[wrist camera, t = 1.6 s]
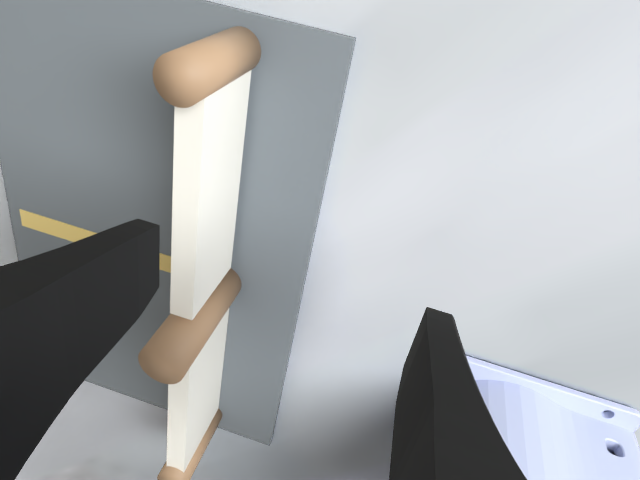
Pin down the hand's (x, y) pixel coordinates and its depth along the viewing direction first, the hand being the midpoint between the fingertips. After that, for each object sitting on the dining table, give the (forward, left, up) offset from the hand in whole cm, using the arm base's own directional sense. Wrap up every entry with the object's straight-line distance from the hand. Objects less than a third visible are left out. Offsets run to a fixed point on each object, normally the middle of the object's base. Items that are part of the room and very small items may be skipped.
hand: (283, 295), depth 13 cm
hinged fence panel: (+5, +1, -9) cm, 10 cm away
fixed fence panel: (+5, +13, -9) cm, 17 cm away
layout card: (+9, +8, -9) cm, 15 cm away
